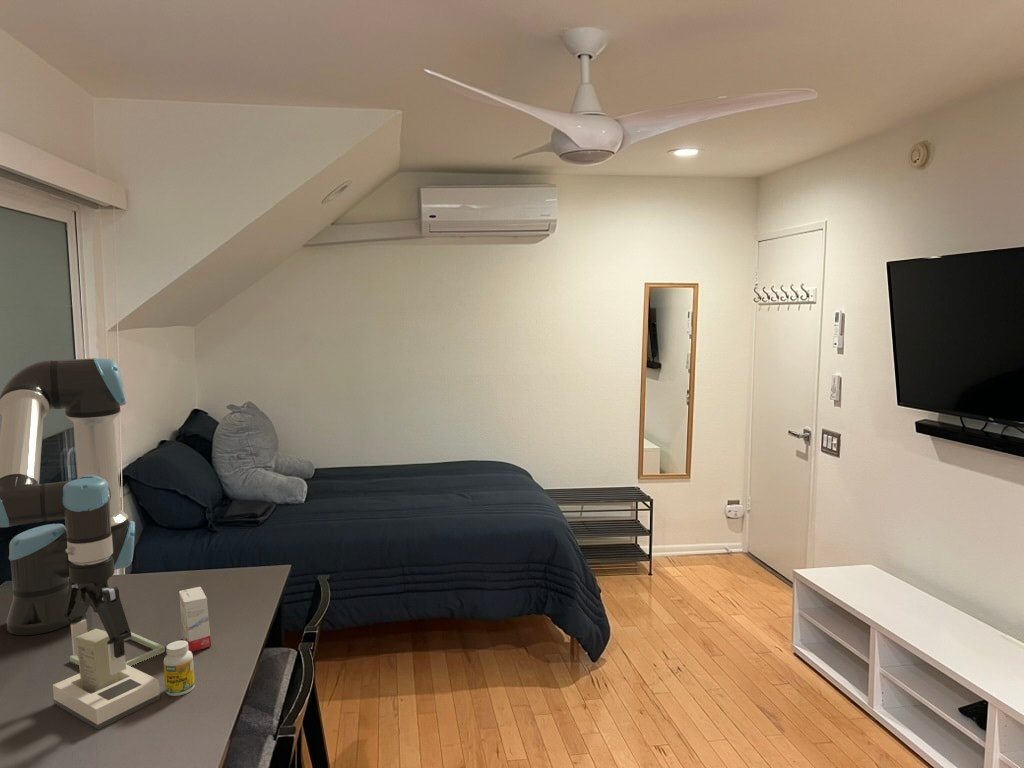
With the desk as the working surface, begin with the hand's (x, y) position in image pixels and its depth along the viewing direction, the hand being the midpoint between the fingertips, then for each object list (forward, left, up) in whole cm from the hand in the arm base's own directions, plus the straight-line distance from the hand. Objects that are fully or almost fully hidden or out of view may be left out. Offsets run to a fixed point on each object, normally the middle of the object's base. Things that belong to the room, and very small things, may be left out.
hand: (99, 662), depth 140 cm
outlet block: (+2, 0, -8) cm, 8 cm away
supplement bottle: (+10, +10, -8) cm, 17 cm away
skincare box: (0, 0, -7) cm, 7 cm away
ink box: (-5, +24, -8) cm, 26 cm away
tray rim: (-14, +11, -8) cm, 19 cm away
